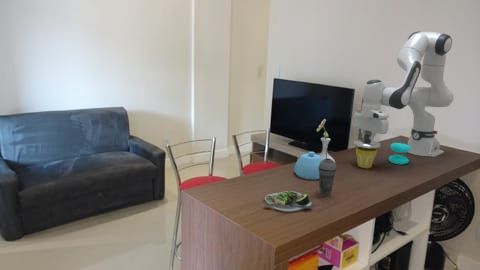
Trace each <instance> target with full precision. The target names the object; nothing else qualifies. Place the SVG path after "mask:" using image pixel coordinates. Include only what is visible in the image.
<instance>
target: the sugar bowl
mask: <svg viewBox="0 0 480 270" xmlns="http://www.w3.org/2000/svg"><path fill="white" fill-rule="evenodd" d="M321 161H322V158H321V156H319V154H316V152H314V151H308V152H307V153H303V154H301V156H299V158H298V160H297V161H296V163H295V164H294V165H295V166H294V168H293V169H294V170H293V171H294V173H295V174H296V175H297V177H299V178H301V179H303V180H304V179H306V180H309V181H310V180H313V181H315V180H319V168H318V167H319V164H320V162H321Z"/></svg>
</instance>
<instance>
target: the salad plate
mask: <svg viewBox="0 0 480 270" xmlns="http://www.w3.org/2000/svg"><path fill="white" fill-rule="evenodd" d="M273 200H274V201H273ZM264 201H265V202H266V203H264V207H266V208H270V209H273V210H275V211H276V210H277V211H280V212H286V213H292V212H293V213H294V212H299V211H305V210H309V209H312V208H314V206H313V202H312V201H311V200H310V198H309V195H308V193H304V194H302V193H300V192H297V191H294V190H293V191H292V190H285V191H281V192H274V193H269V194H267V195H265V196H264Z"/></svg>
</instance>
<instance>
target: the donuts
mask: <svg viewBox="0 0 480 270" xmlns="http://www.w3.org/2000/svg"><path fill="white" fill-rule="evenodd" d="M389 148H390V149H391V150H392V151H393V152H396V153H403V154H404V153H408V151H410V146H409V145H408V143H407V144H406V143H404V142H403V143H401V142H393V143H392V144H390V147H389ZM388 161H389V163H392V164H395V165H401V166H404V165H407V164H409V162H410V161H409V158H408V157H406V156H405V155H401V154H392V155H390V156H389V157H388Z"/></svg>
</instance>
